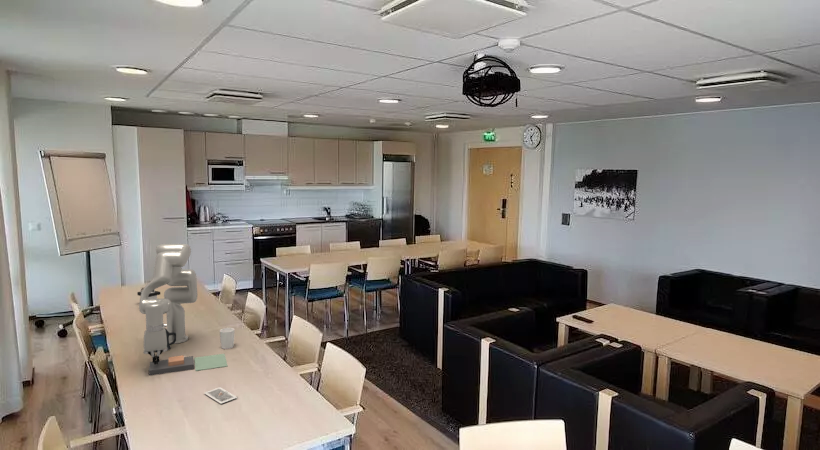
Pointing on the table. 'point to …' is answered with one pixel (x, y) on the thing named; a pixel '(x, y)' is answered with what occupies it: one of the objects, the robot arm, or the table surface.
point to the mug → (168, 339)
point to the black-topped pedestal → (152, 295)
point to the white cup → (227, 338)
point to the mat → (210, 362)
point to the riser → (164, 368)
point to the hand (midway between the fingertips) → (156, 363)
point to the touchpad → (220, 395)
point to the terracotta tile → (176, 360)
